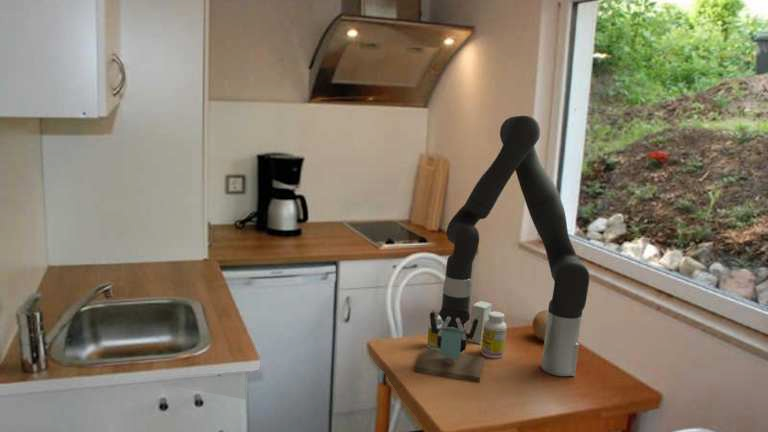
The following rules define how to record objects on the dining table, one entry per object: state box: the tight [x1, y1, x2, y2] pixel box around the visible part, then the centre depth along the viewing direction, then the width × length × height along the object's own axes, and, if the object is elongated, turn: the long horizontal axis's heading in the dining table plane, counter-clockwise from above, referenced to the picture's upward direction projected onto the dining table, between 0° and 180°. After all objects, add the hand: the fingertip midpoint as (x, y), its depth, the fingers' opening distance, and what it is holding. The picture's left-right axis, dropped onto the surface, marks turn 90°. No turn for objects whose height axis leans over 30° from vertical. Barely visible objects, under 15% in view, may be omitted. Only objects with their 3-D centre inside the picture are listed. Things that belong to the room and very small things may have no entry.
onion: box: [531, 309, 548, 342], centre depth 208 cm, size 10×10×10 cm
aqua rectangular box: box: [439, 327, 462, 358], centre depth 181 cm, size 5×5×7 cm
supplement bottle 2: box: [480, 311, 508, 359], centre depth 193 cm, size 7×7×13 cm
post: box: [445, 356, 456, 365], centre depth 182 cm, size 3×3×8 cm
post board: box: [413, 347, 485, 383], centre depth 183 cm, size 18×14×2 cm
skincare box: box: [468, 300, 493, 345], centre depth 203 cm, size 6×4×12 cm
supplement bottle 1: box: [426, 315, 444, 351], centre depth 196 cm, size 5×5×10 cm
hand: (451, 349), depth 182 cm, fingers closed on aqua rectangular box, 5 cm apart
